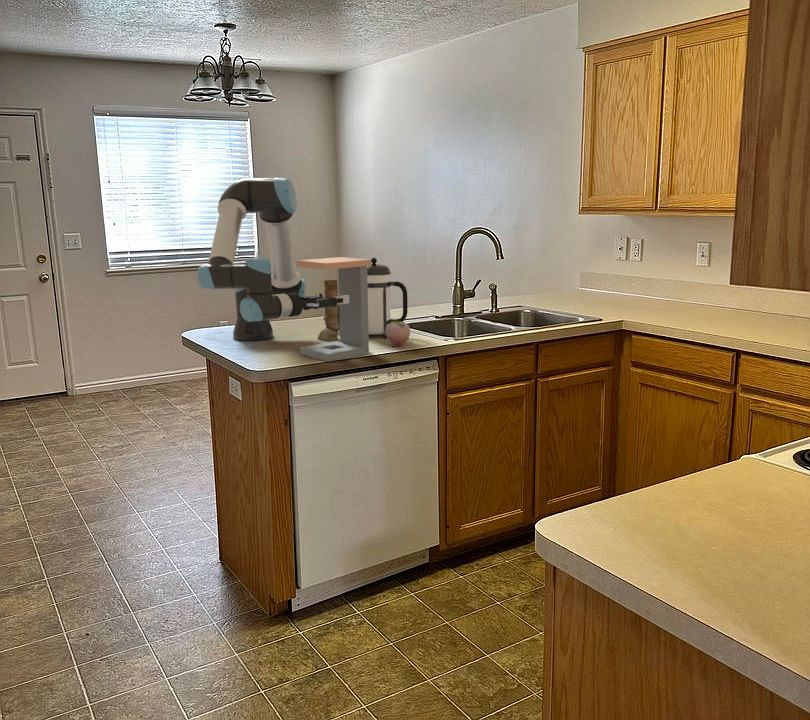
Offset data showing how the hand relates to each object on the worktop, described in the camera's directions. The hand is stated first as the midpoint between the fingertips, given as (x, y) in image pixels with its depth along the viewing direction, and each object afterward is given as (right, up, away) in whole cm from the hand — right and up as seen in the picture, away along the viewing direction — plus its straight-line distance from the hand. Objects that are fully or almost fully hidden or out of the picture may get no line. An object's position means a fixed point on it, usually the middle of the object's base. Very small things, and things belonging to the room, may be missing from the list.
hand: (343, 298), depth 254 cm
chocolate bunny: (-8, -13, +28) cm, 32 cm away
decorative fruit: (+19, -16, +15) cm, 29 cm away
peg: (-4, -9, -2) cm, 10 cm away
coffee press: (+11, -12, +34) cm, 38 cm away
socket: (-3, -19, +2) cm, 19 cm away
